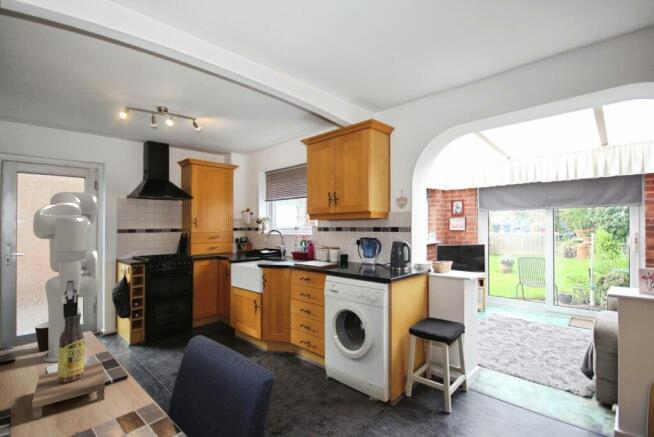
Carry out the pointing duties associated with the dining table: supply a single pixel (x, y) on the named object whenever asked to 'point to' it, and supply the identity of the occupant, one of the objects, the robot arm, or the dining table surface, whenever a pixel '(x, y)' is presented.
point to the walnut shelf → (67, 387)
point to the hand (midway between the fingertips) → (71, 311)
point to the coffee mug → (42, 337)
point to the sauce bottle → (71, 350)
